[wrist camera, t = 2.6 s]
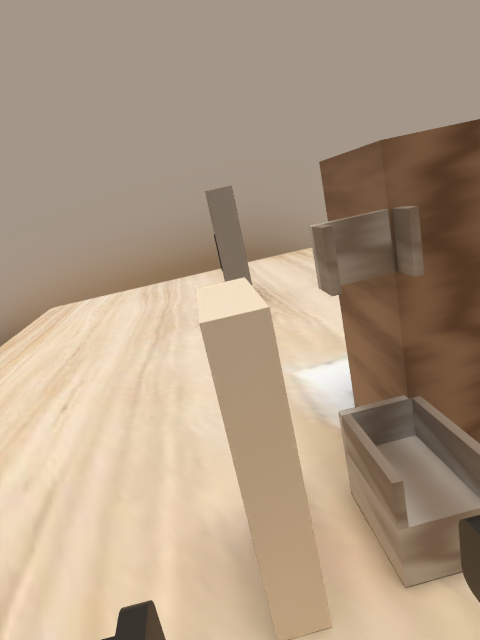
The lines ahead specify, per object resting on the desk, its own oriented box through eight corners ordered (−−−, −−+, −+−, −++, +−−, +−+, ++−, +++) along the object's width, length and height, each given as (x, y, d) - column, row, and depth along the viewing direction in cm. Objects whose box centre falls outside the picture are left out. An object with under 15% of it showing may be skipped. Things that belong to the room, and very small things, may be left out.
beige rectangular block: (295, 521, 30) (244, 277, 25) (332, 627, 23) (269, 307, 18) (254, 531, 30) (195, 288, 25) (277, 642, 22) (199, 323, 18)
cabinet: (448, 385, 43) (429, 138, 37) (646, 519, 25) (678, 65, 18) (309, 420, 43) (264, 173, 36) (405, 587, 24) (348, 135, 17)
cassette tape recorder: (228, 300, 101) (204, 193, 94) (253, 295, 101) (230, 187, 94) (228, 315, 88) (200, 192, 81) (257, 309, 88) (232, 185, 81)
